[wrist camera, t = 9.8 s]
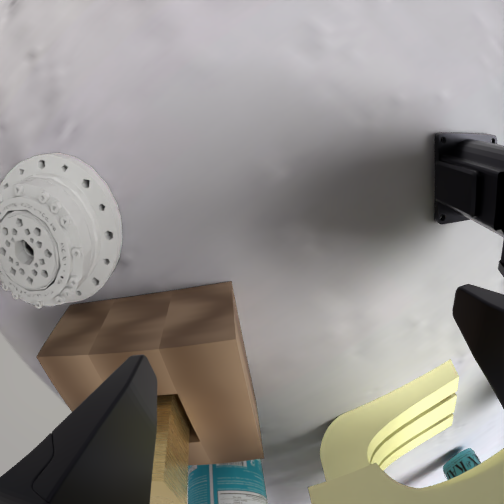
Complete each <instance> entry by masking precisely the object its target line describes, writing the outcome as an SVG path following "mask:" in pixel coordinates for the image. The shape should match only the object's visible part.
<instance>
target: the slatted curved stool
mask: <svg viewBox="0 0 504 504" xmlns="http://www.w3.org/2000/svg"><path fill="white" fill-rule="evenodd" d="M458 380H459V376H458V374H457V372H456V370H455V368H454V366H453V364H452V361H451V359H450V360H449V361H447V362H445V363H444V364H442V365H440V366H439V367H437V368H435V369H433V370H432V371H430V372H428V373H426V374H425V375H423V376H421V377H419V378H417V379H415V380H414V381H412V382H410V383H408V384H406V385H404V386H402V387H400V388H398V389H396V390H394V391H392V392H390V393H388V394H386V395H384V396H382V397H380V398H378V399H376V400H373V401H371V402H369V403H367V404H365V405H362V406H360V407H358V408H356V409H353V410H351V411H348V412H346V413H344V414H342V415H340V416H339V417H337V418H336V419H335V420H334V421H333V422H332V423H331V424H330V426H329V427H328V429H327V430H326V432H325V434H324V436H323V439H322V442H321V447H320V459H321V463H322V467H323V471H324V475H325V479H326V482H323V483H320V484H317V485H314V486H310V487H308V490H309V494H310V498H311V503H312V504H504V448H503V449H502V450H501V451H499V452H498V453H496V454H495V455H493V456H492V457H490V458H489V459H487V460H486V461H484V462H482V463H481V464H479V465H477V466H476V467H474V468H472V469H470V470H468V471H466V472H465V473H463V474H461V475H459V476H456V477H454V478H452V479H450V480H447V481H445V482H442V483H439V484H436V485H433V486H429V487H425V488H413V487H408V486H405V485H402V484H400V483H398V482H396V481H395V480H393V479H392V478H391V477H389V476H388V475H387V474H386V473H385V472H384V470H385V468H386V467H388V466H389V465H390V464H391V463H392V462H394V461H395V460H396V459H398V458H399V457H401V456H402V455H404V454H405V453H407V452H408V451H410V450H412V449H413V448H415V447H417V446H418V445H420V444H421V443H423V442H425V441H426V440H428V439H430V438H431V437H433V436H435V435H436V434H438V433H440V432H441V431H443V430H445V429H446V428H448V427H450V426H451V425H452V421H453V414H452V413H453V412H454V409H455V403H456V396H457V395H456V394H455V392H456V391H457V388H458Z"/></svg>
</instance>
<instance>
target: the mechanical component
mask: <svg viewBox="0 0 504 504" xmlns="http://www.w3.org/2000/svg"><path fill="white" fill-rule="evenodd" d="M89 180H90V182H88V181H89ZM111 232H112V233H111ZM122 242H123V238H122V222H121V216H120V212H119V209H118V205H117V202H116V201H115V199H114V197H113V195H112V193H111V191H110V189H109V187H108V185H107V183H106V182H105V181H104V180H103V179H102V178H101V177H100V176H99V174H98V173H97V172H96V171H95V170H94V169H93V168H92V167H91V166H89V165H88V164H86V163H84V162H83V161H81V160H80V159H78V158H76V157H73V156H70V155H66V154H62V153H49V154H41V155H37V156H34V157H31V158H29V159H26V160H24V161H21V162H20V163H19V164H17V165H16V166H15V167H14V168H13V169H12V170H11V171H10V172H9V173H8V174H7V175H6V177H5V178H4V180H3V181H2V183H1V185H0V281H1V282H2V288H3V289H4V290H5V291H8V290H10V291H11V292H12V296H13V298H14V299H16V300H17V299H19V298H20V299H21V300H23V301H24V302H27V303H30V304H32V305H35V307H36V308H38V309H40V308H42V306H51V307H52V306H55V305H57V304H58V305H62V304H63V303H74V302H78V301H82V300H85V299H86V298H88V297H90V296H92V295H94V294H95V293H96V292H97V291H98V290H99V289H101V288H102V287H103V286H104V284H105V283H106V281H107V280H108V278H109V277H110V275H111V274H112V272H113V271H114V269H115V267H116V264H117V262H118V260H119V257H120V252H121V247H122Z"/></svg>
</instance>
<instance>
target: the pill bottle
mask: <svg viewBox="0 0 504 504" xmlns="http://www.w3.org/2000/svg"><path fill="white" fill-rule="evenodd" d="M188 504H268V503H267V496H266V490H265V484H264V477H263V471H262V465H261V459H256V460H248V461H240V462H231V463H220V464H208V465H190V466H188Z"/></svg>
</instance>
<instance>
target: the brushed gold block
mask: <svg viewBox="0 0 504 504" xmlns="http://www.w3.org/2000/svg"><path fill="white" fill-rule="evenodd" d="M189 433H190V420H189V418H188V415H187V413H186V411H185V409H184V407H183V405H182V403H181V400H180V398H179V396H178V394H168V395H157V433H156V443H155V452H154V461H153V472H152V483H151V494H150V504H187V485H188V455H189Z"/></svg>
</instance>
